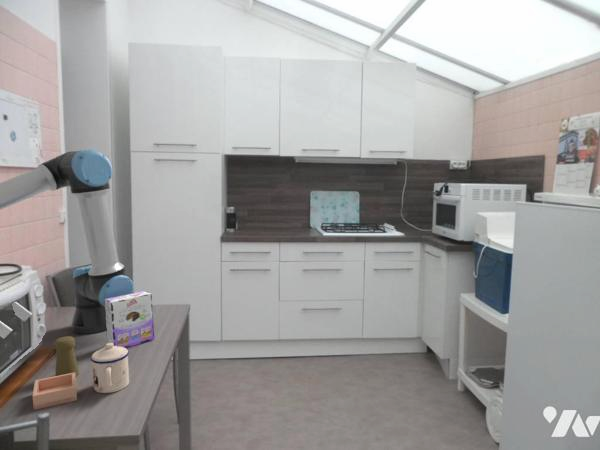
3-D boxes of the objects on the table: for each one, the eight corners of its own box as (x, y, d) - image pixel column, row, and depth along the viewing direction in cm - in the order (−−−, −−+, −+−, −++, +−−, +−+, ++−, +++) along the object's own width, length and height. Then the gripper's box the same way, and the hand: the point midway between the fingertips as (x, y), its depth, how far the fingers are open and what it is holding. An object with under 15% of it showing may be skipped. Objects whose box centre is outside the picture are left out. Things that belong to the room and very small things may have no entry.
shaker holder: (36, 393, 111) (35, 380, 110) (76, 384, 115) (75, 372, 115) (33, 409, 103) (32, 396, 102) (76, 400, 107) (75, 386, 106)
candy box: (147, 335, 150) (144, 290, 148) (154, 340, 146) (152, 293, 144) (107, 346, 141) (103, 298, 139) (113, 351, 136) (110, 301, 135)
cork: (68, 381, 117) (65, 342, 116) (49, 379, 118) (46, 341, 117) (84, 371, 123) (81, 334, 121) (65, 369, 124) (63, 333, 123)
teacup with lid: (95, 380, 117) (92, 340, 116) (131, 375, 120) (128, 335, 119) (89, 402, 106) (86, 357, 104) (128, 396, 109) (126, 352, 107)
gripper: (-37, 274, 123) (26, 321, 128) (-93, 298, 98) (-14, 354, 104) (-17, 255, 123) (44, 302, 128) (-69, 274, 99) (9, 331, 104)
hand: (19, 325), depth 116 cm, fingers open, 13 cm apart
